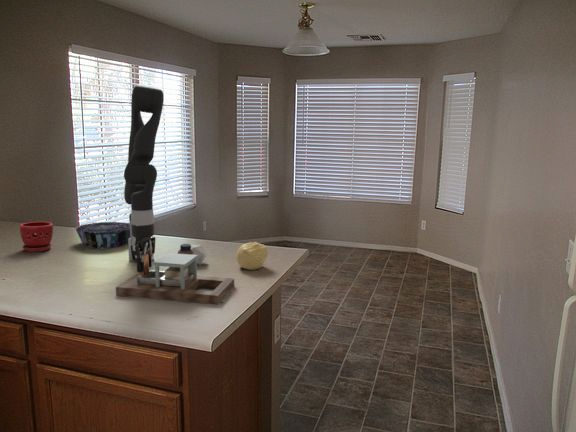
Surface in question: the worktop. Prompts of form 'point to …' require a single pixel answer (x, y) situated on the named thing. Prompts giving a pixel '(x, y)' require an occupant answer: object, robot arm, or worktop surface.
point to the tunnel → (177, 265)
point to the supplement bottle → (185, 249)
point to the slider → (168, 282)
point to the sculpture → (251, 255)
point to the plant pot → (36, 236)
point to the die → (199, 253)
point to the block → (175, 273)
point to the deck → (180, 290)
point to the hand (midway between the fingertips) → (144, 269)
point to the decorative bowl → (104, 234)
